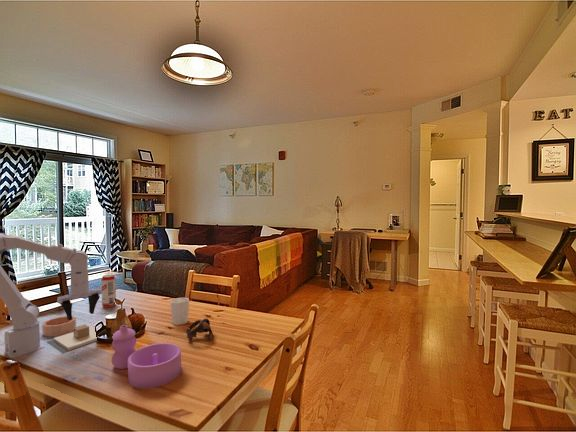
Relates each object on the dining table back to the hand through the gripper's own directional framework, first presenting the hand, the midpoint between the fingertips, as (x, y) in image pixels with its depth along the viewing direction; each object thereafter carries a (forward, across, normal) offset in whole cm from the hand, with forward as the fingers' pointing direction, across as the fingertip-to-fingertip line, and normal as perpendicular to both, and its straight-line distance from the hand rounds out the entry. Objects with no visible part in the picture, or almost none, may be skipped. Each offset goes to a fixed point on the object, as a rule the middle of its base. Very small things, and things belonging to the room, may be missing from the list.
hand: (80, 316), depth 120 cm
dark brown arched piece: (+10, +28, -38) cm, 48 cm away
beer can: (+10, +25, +32) cm, 42 cm away
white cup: (+10, +33, -17) cm, 38 cm away
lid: (+9, 0, 0) cm, 9 cm away
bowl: (+9, -2, +16) cm, 19 cm away
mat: (+9, 0, 0) cm, 9 cm away
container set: (+10, +2, -42) cm, 43 cm away
